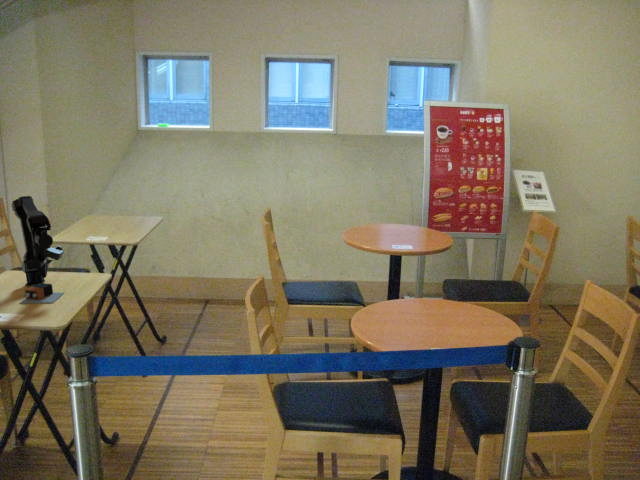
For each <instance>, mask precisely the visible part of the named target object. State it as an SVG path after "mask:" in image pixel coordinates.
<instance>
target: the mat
mask: <svg viewBox="0 0 640 480" xmlns="http://www.w3.org/2000/svg"><path fill="white" fill-rule="evenodd" d="M64 294H65V292H53V293H52V294H50V295H48V296H46V297H44V298H42V299H40V300H34V299H26V297H25V298H23V299H22V300H20V302H19V305H20V304H22V305H23V304H54V303H55V302H56V301H57V300H59V299H60V298H61V297H62V296H64Z"/></svg>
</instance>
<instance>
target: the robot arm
mask: <svg viewBox="0 0 640 480" xmlns="http://www.w3.org/2000/svg"><path fill="white" fill-rule="evenodd" d="M11 208H12V209H11V210H12V211H13V213H14V215H15V217H16V218H17V219H19V221H20V222H19V223H20V228H21V232H22V238H23V244H24V247H25V252H24V254H23V257H22V258H23V260H22V264H21V268H22V272H23V273H24V274H25V277H26V283H25V286H34V285H36V284H39V283H44V282H46V280H45V278H47V275H48V271H49V265H50V264H51V263H52V262H53V261H54V260H55V261H59V260H60V259H62V257H63V254H64V253H65V251H64V250H63V246H60V245H58V246H56V247H52V245H53V243H54V238H53V237H52V236H51V235H50V234H49V233H48V231H51V228H52V225H51V222H50V220H49V219H50V218H49V217H48V215H46V214H45V213H44V212H43V211H42V210H38V208H37V206H36V205H35V203H34V198H32V196H31V195H25V196H20V197H18V198H17V199H15V200H12V202H11Z"/></svg>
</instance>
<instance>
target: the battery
mask: <svg viewBox="0 0 640 480" xmlns="http://www.w3.org/2000/svg"><path fill="white" fill-rule="evenodd" d="M53 289H54V288H53V284H52V283H44V282H43V283H39V284H36V285H31V286H30V287H27V288H25V290H24V296H25V298H26V299H34V300H40V299H42V298H44V297H46V296H48V295H50V294H52V293H54V290H53Z"/></svg>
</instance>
